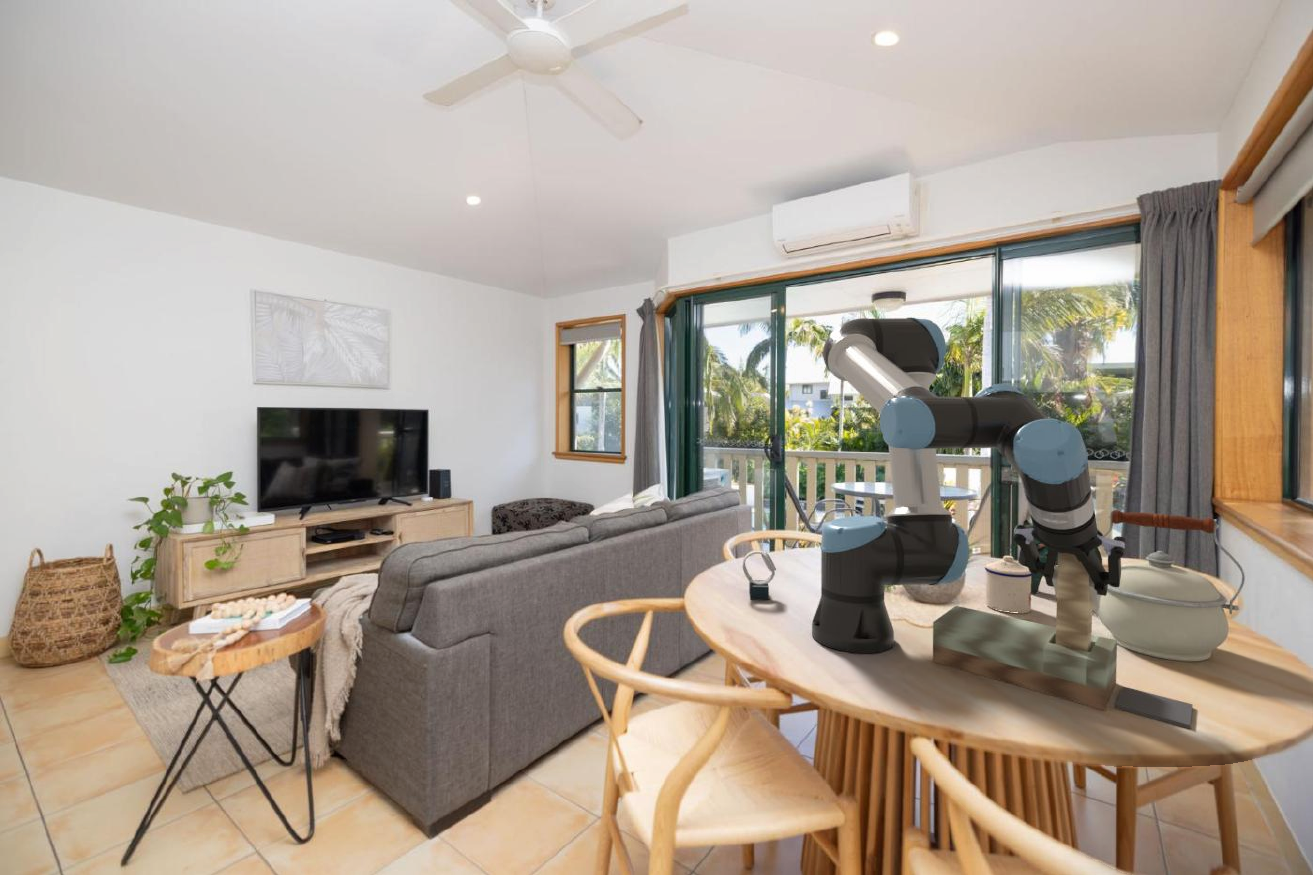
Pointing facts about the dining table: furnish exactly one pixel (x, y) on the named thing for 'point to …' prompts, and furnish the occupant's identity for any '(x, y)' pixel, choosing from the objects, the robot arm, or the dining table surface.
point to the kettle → (1166, 599)
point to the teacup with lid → (1008, 586)
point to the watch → (759, 587)
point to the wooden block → (1073, 604)
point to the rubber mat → (1155, 707)
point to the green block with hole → (1025, 655)
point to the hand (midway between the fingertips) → (1078, 597)
